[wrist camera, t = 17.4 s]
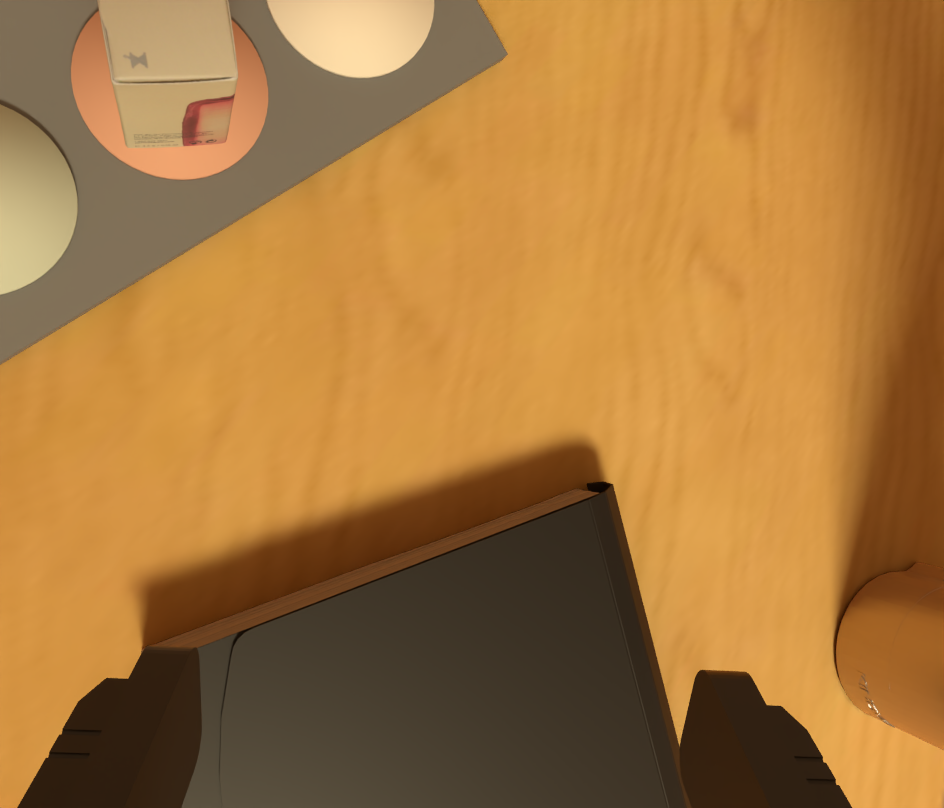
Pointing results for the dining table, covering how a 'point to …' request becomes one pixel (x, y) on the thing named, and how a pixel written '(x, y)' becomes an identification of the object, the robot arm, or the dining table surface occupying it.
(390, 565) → the file folder
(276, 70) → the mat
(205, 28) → the small box
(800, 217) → the dining table surface
